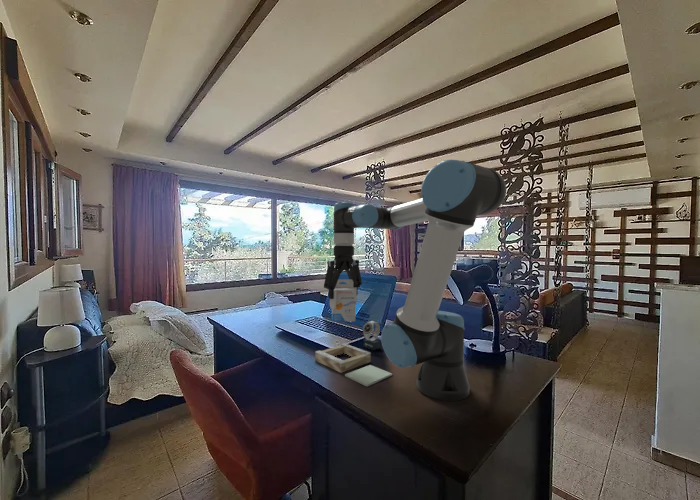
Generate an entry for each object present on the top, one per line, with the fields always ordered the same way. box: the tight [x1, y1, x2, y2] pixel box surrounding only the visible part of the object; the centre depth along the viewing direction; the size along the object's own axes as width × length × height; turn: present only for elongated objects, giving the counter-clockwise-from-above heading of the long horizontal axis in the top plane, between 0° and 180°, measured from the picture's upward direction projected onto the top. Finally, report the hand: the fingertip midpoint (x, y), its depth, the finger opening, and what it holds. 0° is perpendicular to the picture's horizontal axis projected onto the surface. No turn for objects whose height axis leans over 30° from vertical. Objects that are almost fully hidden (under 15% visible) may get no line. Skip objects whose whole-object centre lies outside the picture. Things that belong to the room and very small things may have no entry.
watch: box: [362, 320, 381, 351], centre depth 127 cm, size 6×8×11 cm
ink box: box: [331, 278, 357, 322], centre depth 111 cm, size 8×5×15 cm, turn 98°
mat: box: [344, 364, 393, 388], centre depth 99 cm, size 10×12×1 cm
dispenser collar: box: [314, 342, 372, 374], centre depth 111 cm, size 14×14×3 cm
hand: (343, 306), depth 111 cm, fingers closed on ink box, 9 cm apart
